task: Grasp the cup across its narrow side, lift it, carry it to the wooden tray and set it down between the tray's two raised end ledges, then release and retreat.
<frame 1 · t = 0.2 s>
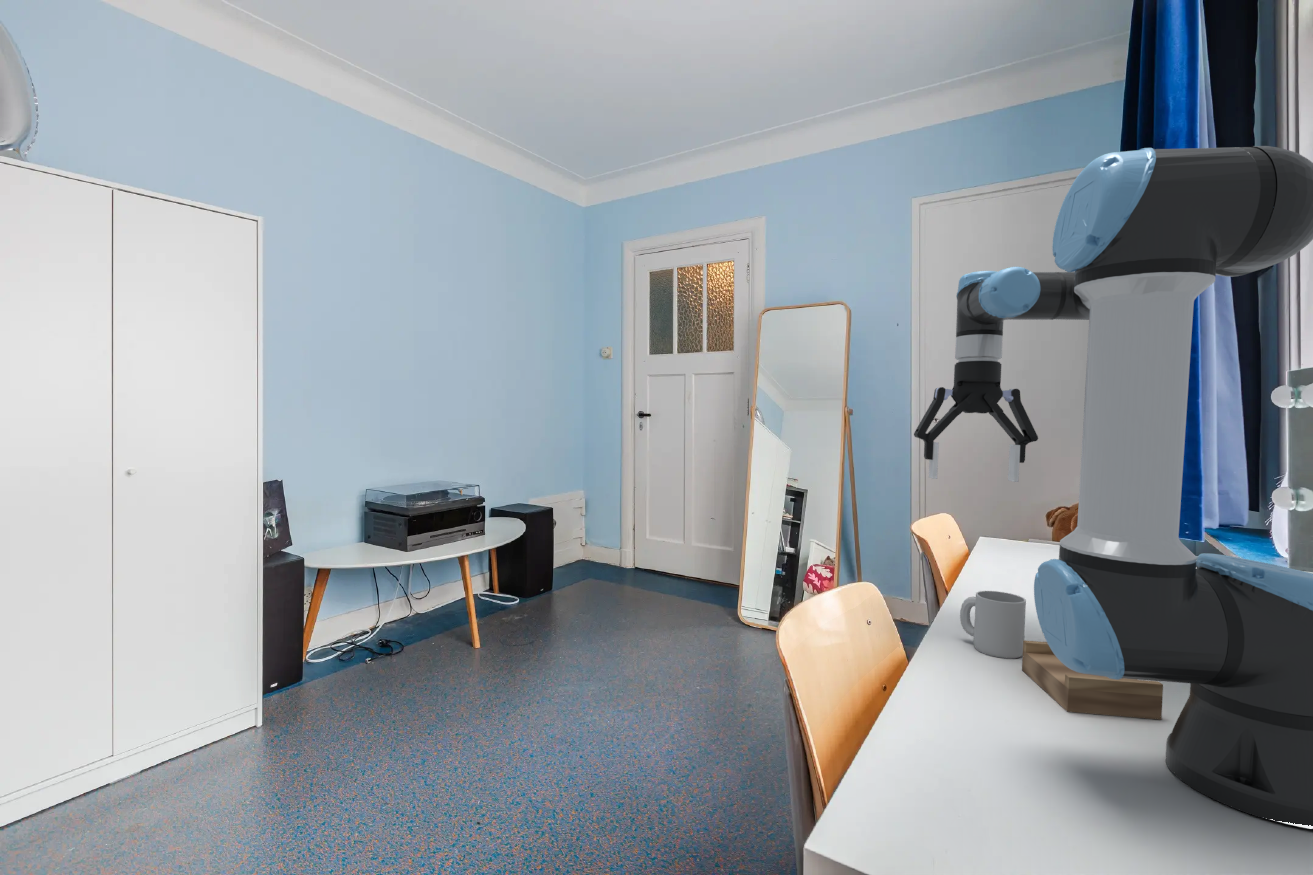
hand: (972, 479, 115), 27 cm above the table, fingers open, 13 cm apart
cup: (989, 649, 106), on the table
wooden tray: (1085, 692, 89), on the table
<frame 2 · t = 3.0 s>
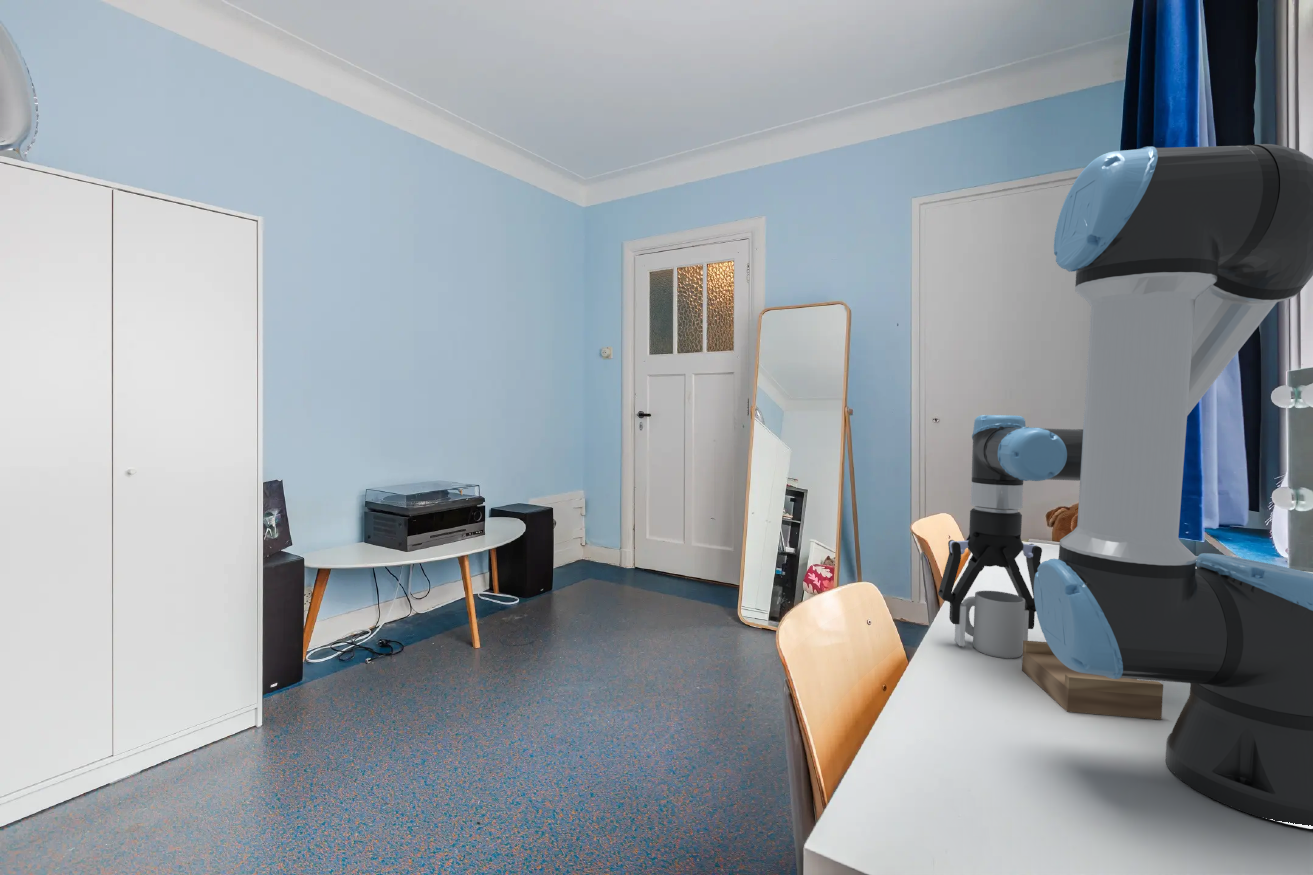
hand: (990, 645, 106), 0 cm above the table, fingers open, 9 cm apart
cup: (988, 649, 106), on the table, touching gripper
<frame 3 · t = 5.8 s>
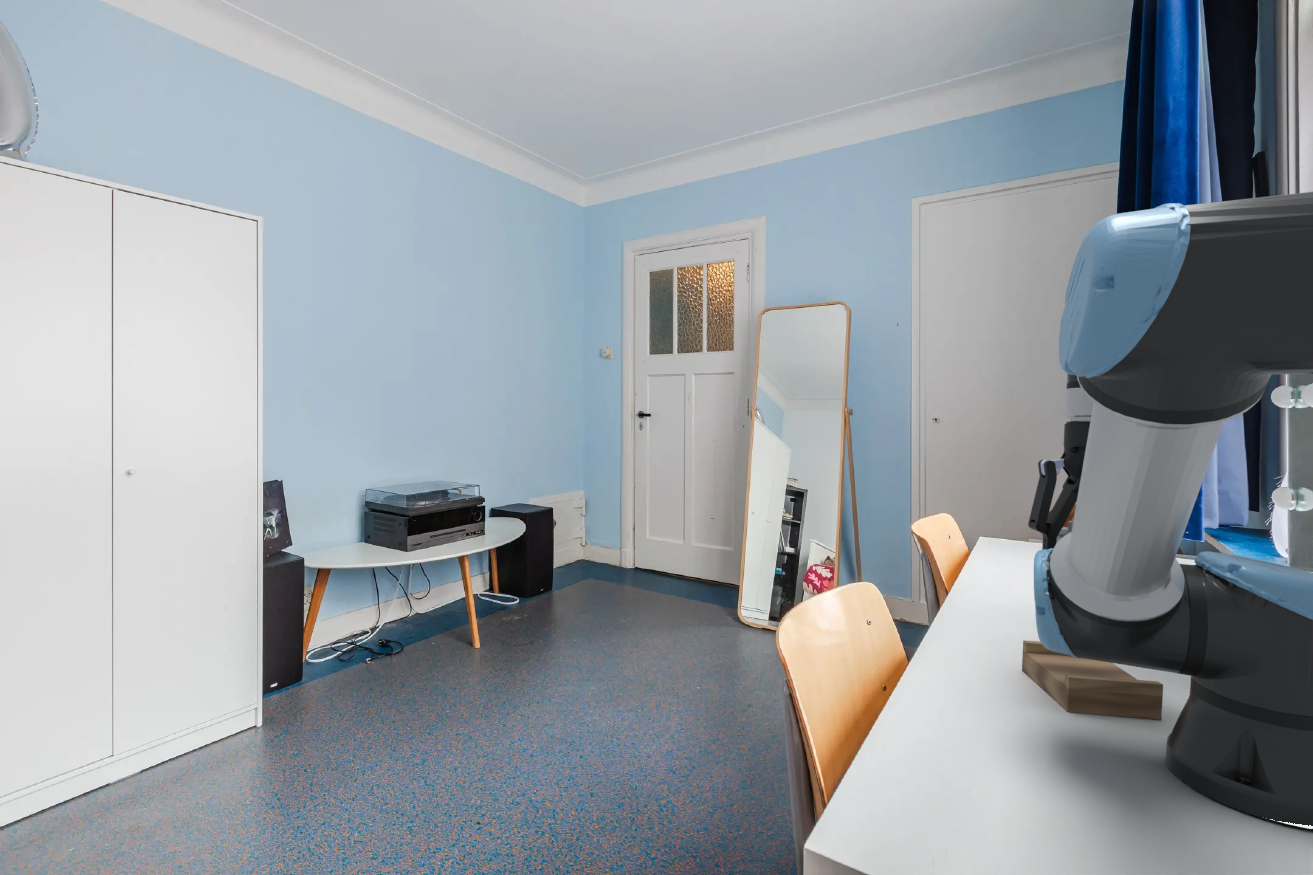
hand: (1089, 585, 88), 15 cm above the table, fingers closed on cup, 8 cm apart
cup: (1084, 589, 88), point 14 cm above the table, touching gripper
when the fingers open (4 cm above the table, at t = 8.6 s): cup stays where it is, resting on wooden tray.
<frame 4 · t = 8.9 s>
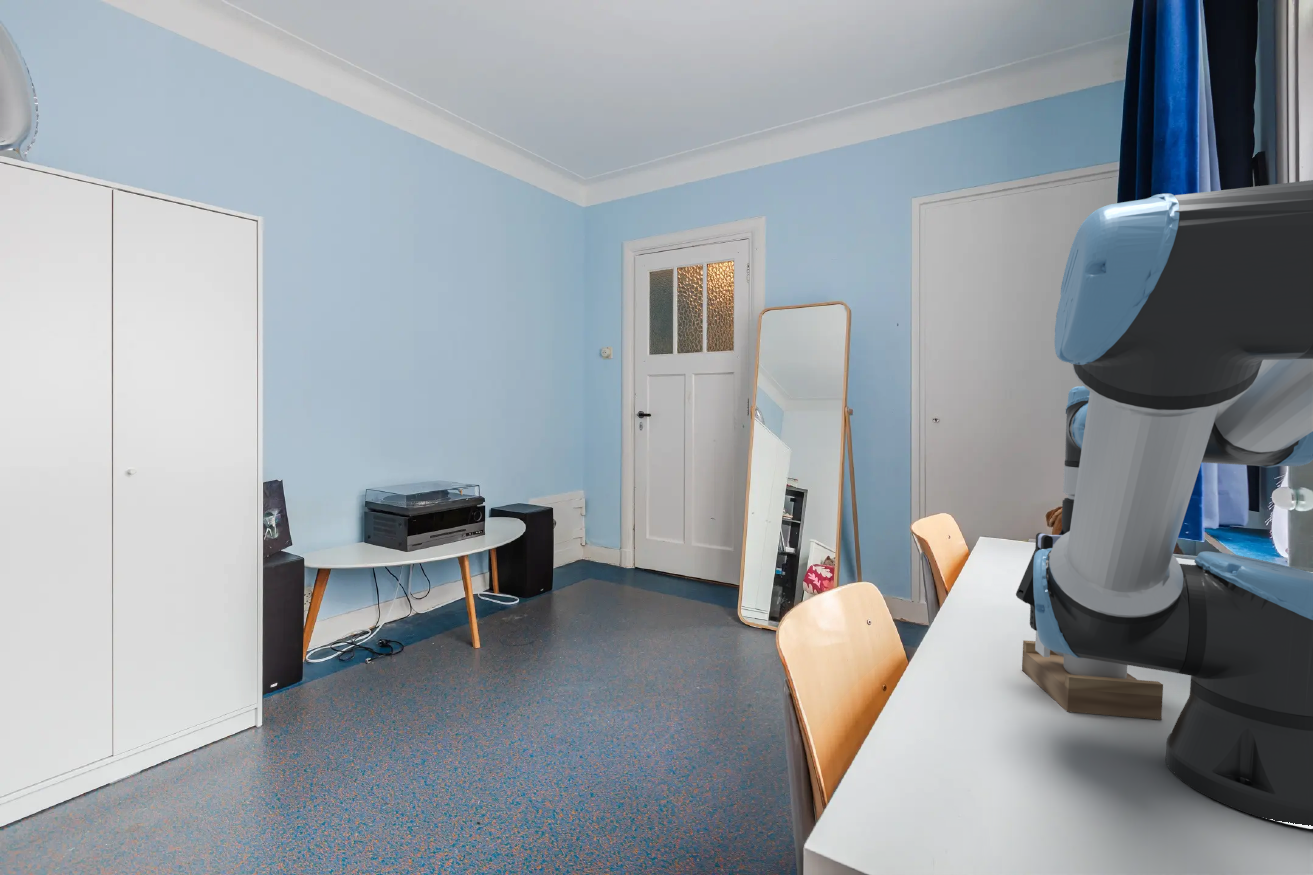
hand: (1087, 657, 89), 5 cm above the table, fingers open, 11 cm apart
cup: (1082, 672, 89), point 3 cm above the table, touching wooden tray
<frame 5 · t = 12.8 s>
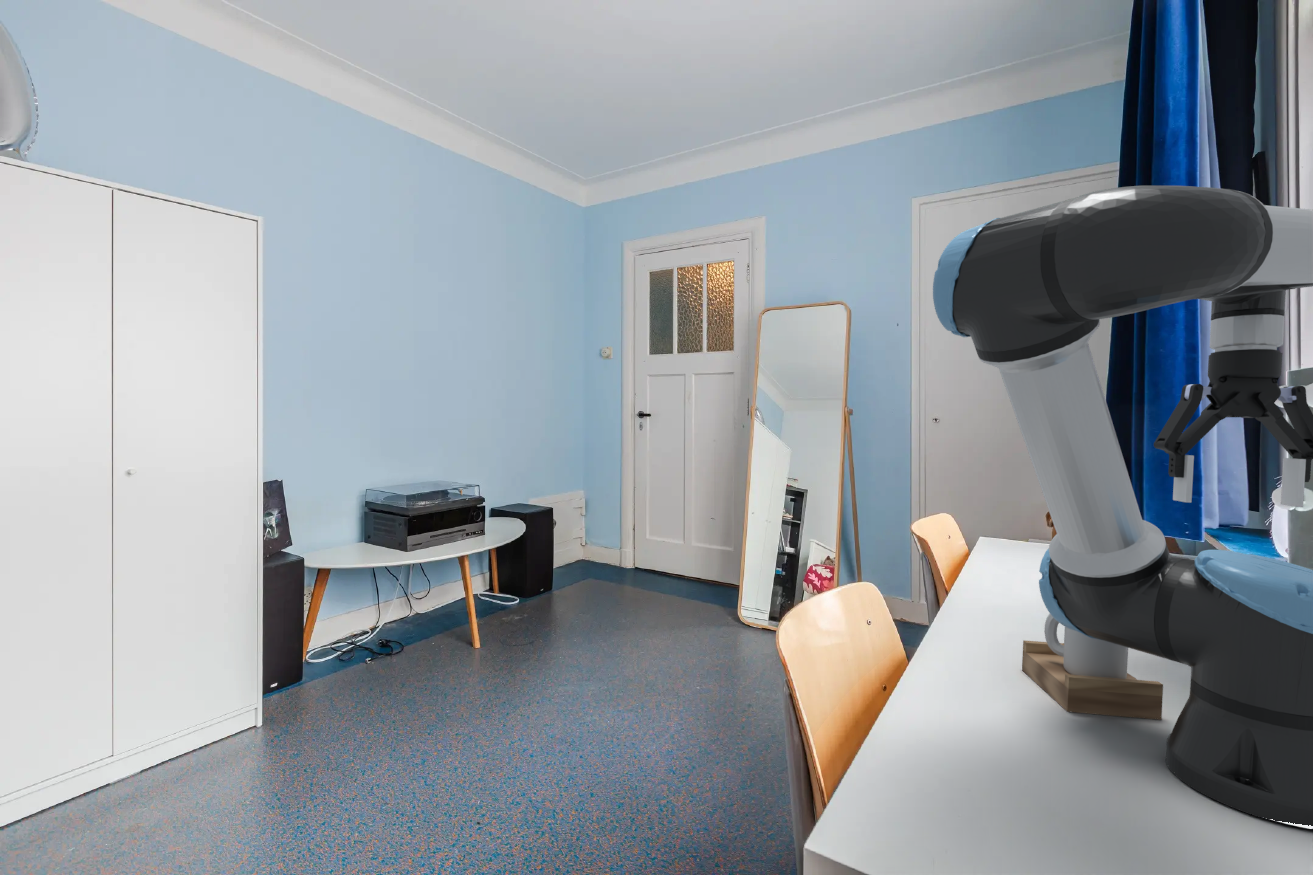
hand: (1236, 503, 89), 27 cm above the table, fingers open, 13 cm apart
nothing on the table moved.
at the end: cup inside the target area on the wooden tray (0.5 cm from its centre), point 2.8 cm above the wooden tray's base; cup tilted 0°; the gripper is holding nothing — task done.
